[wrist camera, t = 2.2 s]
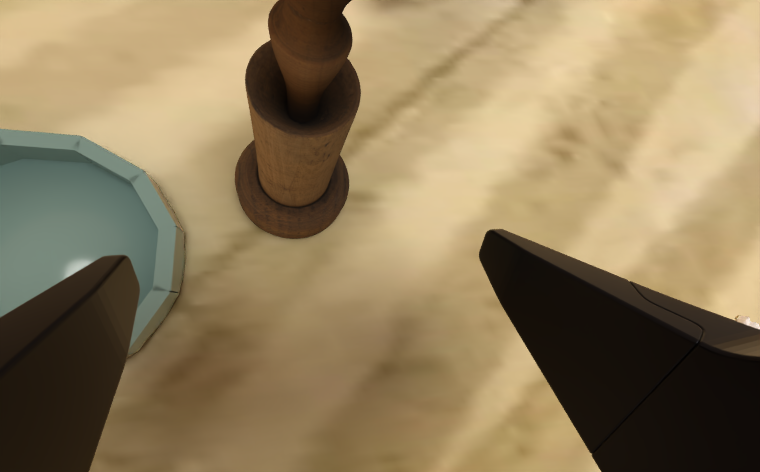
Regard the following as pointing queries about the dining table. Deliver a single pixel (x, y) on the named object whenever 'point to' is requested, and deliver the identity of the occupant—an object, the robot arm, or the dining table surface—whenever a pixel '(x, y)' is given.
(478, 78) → the dining table surface
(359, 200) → the dining table surface
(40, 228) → the glazed dish
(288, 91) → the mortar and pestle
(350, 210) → the dining table surface
